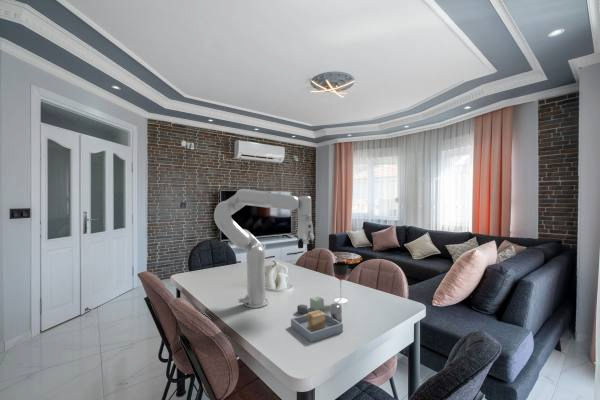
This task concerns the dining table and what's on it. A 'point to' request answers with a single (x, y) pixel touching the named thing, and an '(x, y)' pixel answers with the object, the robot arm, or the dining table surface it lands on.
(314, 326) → the oak block
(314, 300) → the sage block
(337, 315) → the metal cylinder
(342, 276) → the wineglass
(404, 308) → the dining table surface
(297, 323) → the tray
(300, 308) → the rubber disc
